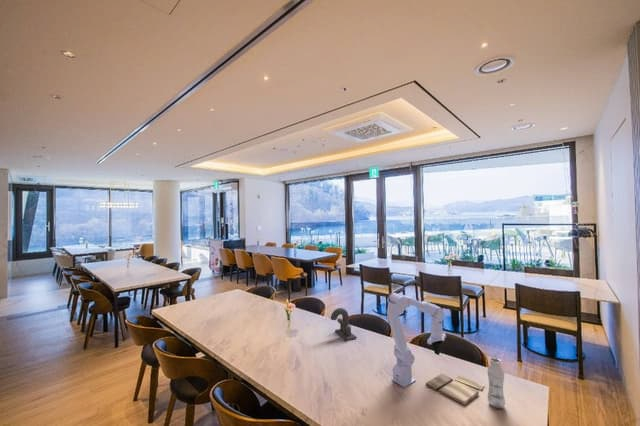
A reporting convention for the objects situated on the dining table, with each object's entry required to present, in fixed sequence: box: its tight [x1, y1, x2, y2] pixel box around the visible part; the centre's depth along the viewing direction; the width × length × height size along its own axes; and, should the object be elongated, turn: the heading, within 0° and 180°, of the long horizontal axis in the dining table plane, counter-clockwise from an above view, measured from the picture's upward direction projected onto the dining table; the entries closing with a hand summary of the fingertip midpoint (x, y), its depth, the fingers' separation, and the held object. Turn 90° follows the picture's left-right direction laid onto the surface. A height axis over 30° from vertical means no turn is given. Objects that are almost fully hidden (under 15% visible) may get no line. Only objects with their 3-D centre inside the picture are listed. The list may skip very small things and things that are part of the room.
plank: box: [454, 375, 486, 392], centre depth 137 cm, size 5×12×1 cm, turn 46°
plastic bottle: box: [486, 357, 506, 410], centre depth 121 cm, size 6×7×20 cm
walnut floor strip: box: [425, 373, 454, 392], centre depth 137 cm, size 14×6×1 cm, turn 125°
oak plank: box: [438, 379, 480, 406], centre depth 129 cm, size 13×12×1 cm
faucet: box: [330, 307, 358, 342], centre depth 194 cm, size 18×16×20 cm
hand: (437, 353), depth 147 cm, fingers closed
